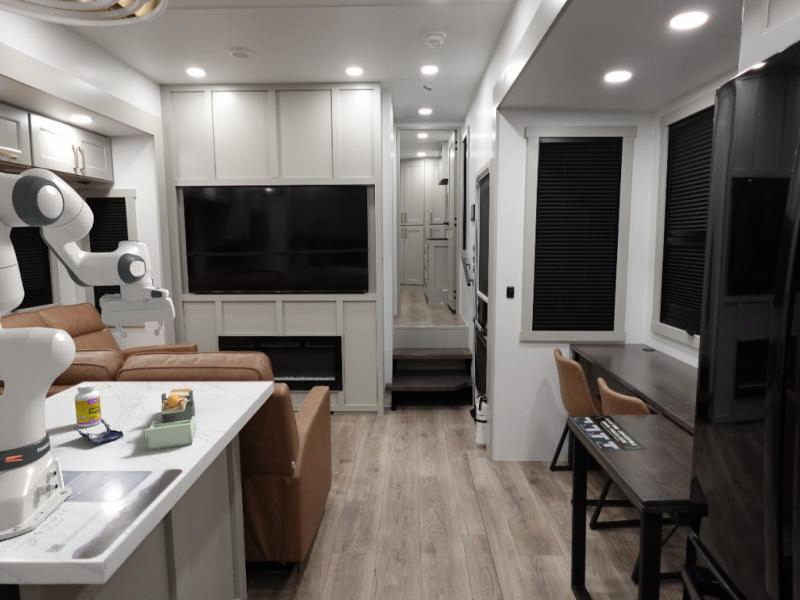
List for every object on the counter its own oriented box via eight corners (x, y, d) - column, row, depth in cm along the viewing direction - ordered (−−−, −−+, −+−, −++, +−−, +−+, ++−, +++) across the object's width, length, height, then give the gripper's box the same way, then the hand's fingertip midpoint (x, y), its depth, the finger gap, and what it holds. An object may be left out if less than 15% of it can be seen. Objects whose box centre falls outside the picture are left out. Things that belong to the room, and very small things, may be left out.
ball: (179, 408, 140) (178, 396, 139) (166, 409, 139) (165, 398, 138) (180, 404, 143) (179, 393, 143) (168, 405, 142) (167, 394, 141)
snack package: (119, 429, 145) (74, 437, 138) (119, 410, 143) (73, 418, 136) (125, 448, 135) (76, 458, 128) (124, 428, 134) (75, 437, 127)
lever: (185, 417, 140) (184, 403, 139) (161, 420, 138) (159, 405, 137) (192, 394, 162) (192, 381, 162) (172, 396, 160) (171, 383, 160)
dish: (191, 444, 131) (190, 424, 130) (146, 451, 127) (144, 430, 127) (195, 428, 143) (194, 409, 142) (154, 433, 139) (152, 414, 139)
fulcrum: (193, 421, 149) (191, 394, 148) (162, 425, 146) (160, 397, 145) (195, 414, 155) (193, 388, 154) (165, 418, 152) (163, 392, 151)
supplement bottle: (89, 428, 144) (85, 388, 143) (72, 427, 146) (67, 387, 144) (107, 420, 151) (103, 382, 150) (90, 419, 152) (86, 381, 151)
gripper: (95, 295, 138) (100, 341, 140) (171, 292, 145) (174, 335, 146) (101, 293, 144) (106, 337, 146) (174, 290, 150) (177, 331, 152)
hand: (141, 336), depth 146 cm, fingers open, 8 cm apart
